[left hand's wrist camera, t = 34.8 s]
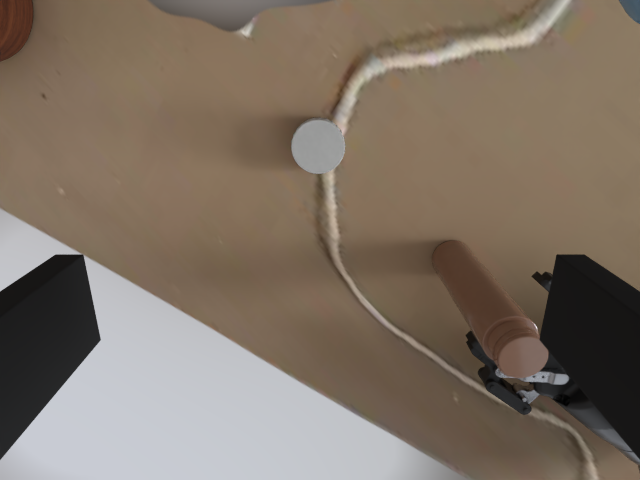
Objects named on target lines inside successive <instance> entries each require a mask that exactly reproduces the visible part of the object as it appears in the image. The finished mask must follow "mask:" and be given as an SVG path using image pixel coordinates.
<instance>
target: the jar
mask: <svg viewBox="0 0 640 480" xmlns="http://www.w3.org/2000/svg"><path fill="white" fill-rule="evenodd" d="M432 264H433V267H434V269H435V270H436V272H437V274H438V275H439V277H440V279H441V280H442V282H443V284H444V285H445V287H446V289H447V290H448V292H449V294H450V295H451V297H452V299H453V300H454V302H455V304H456V305H457V307H458V309H459V310H460V312H461V314H462V315H463V317H464V319H465V320H466V322H467V324H468V325H469V327H470V329H471V330H472V332H473V334H474V335H475V337H476V339H477V340H478V342H479V344H480V345H481V347H482V349H483V350H484V352H485V354H486V355H487V356H488V357H489V358H490V359H492V360H493V361H494V362H495V364H496V365H497V367H498V369H499V370H500V371H501V372H502V373H503V374H504V375H505V376H508V377H514V378H526V377H530V376H532V375H534V374H536V373H538V372H539V371H540V370H541V369H542V368H543V367H544V366H545V364H546V362H547V360H548V350H547V348H546V347H545V346H544V345H543V344H542V343H541V341H540V340H539V339H540V335H539V332H538V329H537V327H536V325H535V324H534V323H533V321H532V320H531V319H530V318H529V317H528V316H527V315H526V313H525V312H524V311H523V310H522V309H521V308H520V307H519V305H518V304H517V303H516V302H515V301H514V300H513V299H512V297H511V296H510V295H509V294H508V293H507V292H506V291H505V289H504V288H503V287H502V286H501V285H500V284H499V282H498V281H497V280H496V279H495V278H494V277H493V276H492V274H491V273H490V272H489V271H488V270H487V269H486V268H485V266H484V265H483V264H482V263H481V262H480V261H479V260H478V258H477V257H476V256H475V255H474V254H473V253H472V252H471V250H470V249H469V248H468V247H467V246H466V245H465V244H464V243H462V242H460V241H455V240H452V241H447V242H444V243H442V244H441V245H439V246H438V247H437V248H436V250H435V251H434V253H433V256H432Z"/></svg>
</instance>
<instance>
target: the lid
mask: <svg viewBox="0 0 640 480" xmlns="http://www.w3.org/2000/svg"><path fill="white" fill-rule="evenodd" d="M291 142H292V146H291V149H292V155H293V157H294V159H295V161H296V162H297V164H298V165H299V166H300V167H301V168H302V169H304V170H305V171H307V172H310V173H314V174H322V173H326V172H329V171H331V170H332V169H334V168H335V167H336V166H337V165H338V164H339V163H340V161H341V160H342V158H343V155H344V152H345V142H344V136H342V131H341V130H340V129H339V128H338V126H337V125H335V124H334V123H333V121H330V120H328V119H327V118H326V119H324V118H320V117H319V118H314V117H313V118H312V119H309V120H308V119H307V121H305V122H303V123H301V125H300V126H299V127H297V129H296V132H294V134H293V139H292V141H291Z"/></svg>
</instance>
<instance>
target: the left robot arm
mask: <svg viewBox="0 0 640 480" xmlns="http://www.w3.org/2000/svg"><path fill="white" fill-rule="evenodd" d="M619 1H620V3H621V5H622V6H623V8H624V10H625V11H626V13H627V14H628V15H629V16H630V17H631V18H632V19H633V20H634V21H635V22H637V23H639V24H640V0H619ZM100 340H101V339H100V334H99V329H98V325H97V320H96V315H95V310H94V305H93V300H92V295H91V290H90V285H89V281H88V275H87V271H86V266H85V261H84V256H83V255H54V256H53V257H51V258H50V259H48V260H47V261H45V262H44V263H42V264H41V265H39V266H38V267H36V268H35V269H33V270H32V271H30V272H29V273H27V274H26V275H24V276H23V277H21V278H20V279H18V280H17V281H15V282H14V283H12V284H11V285H9V286H8V287H6V288H5V289H3V290H2V291H1V292H0V459H1V458H2V457H3V456H4V455H5V453H6V452H7V451H8V450H9V449H10V447H11V446H12V445H13V444H14V443H15V442H16V440H17V439H18V438H19V437H20V436H21V434H22V433H23V432H24V431H25V430H26V428H27V427H28V426H29V425H30V424H31V422H32V421H33V420H34V419H35V418H36V416H37V415H38V414H39V413H40V412H41V410H42V409H43V408H44V407H45V406H46V405H47V403H48V402H49V401H50V400H51V399H52V397H53V396H54V395H55V394H56V393H57V391H58V390H59V389H60V388H61V387H62V385H63V384H64V383H65V382H66V381H67V379H68V378H69V377H70V376H71V375H72V373H73V372H74V371H75V370H76V369H77V367H78V366H79V365H80V364H81V363H82V362H83V360H84V359H85V358H86V357H87V356H88V354H89V353H90V352H91V351H92V350H93V348H94V347H95V346H96V345H97V344H98V343H99V341H100ZM539 340H540V341H541V343H542V344H543V345H544V346H545V347H546V348H547V350H548V351H549V352H550V353H551V354H552V356H553V357H554V358H555V359H556V360H557V362H558V363H559V364H560V365H561V366H562V368H563V369H564V370H565V371H566V372H567V374H568V375H569V376H570V377H571V378H572V380H573V381H574V382H575V383H576V384H577V385H578V387H579V388H580V389H581V390H582V391H583V393H584V394H585V395H586V396H587V397H588V399H589V400H590V401H591V402H592V403H593V405H594V406H595V407H596V408H597V409H598V411H599V412H600V413H601V414H602V415H603V417H604V418H605V419H606V420H607V421H608V422H609V424H610V425H611V426H612V427H613V428H614V430H615V431H616V432H617V433H618V434H619V436H620V437H621V438H622V439H623V440H624V442H625V443H626V444H627V445H628V446H629V448H630V449H631V450H632V451H633V452H634V453H635V455H636V456H637V457H638V458H639V459H640V291H638V290H637V289H635V288H634V287H632V286H631V285H629V284H628V283H626V282H625V281H623V280H622V279H620V278H619V277H617V276H616V275H614V274H613V273H611V272H610V271H608V270H607V269H605V268H604V267H602V266H601V265H599V264H598V263H596V262H595V261H593V260H592V259H590V258H589V257H587V256H586V255H557V256H556V261H555V266H554V271H553V275H552V280H551V285H550V290H549V295H548V300H547V305H546V310H545V315H544V320H543V325H542V329H541V334H540V339H539Z"/></svg>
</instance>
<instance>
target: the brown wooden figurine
mask: <svg viewBox="0 0 640 480" xmlns="http://www.w3.org/2000/svg"><path fill="white" fill-rule="evenodd" d="M32 22H33V5H32V0H0V61H3V60H5V59H8V58H10V57H11V56H13V55H14V54H16V53H17V52H18V51H19V50H20V49H21V48H22V47H23V45H24V44H25V42H26V41H27V39H28V37H29V34H30V31H31V27H32Z"/></svg>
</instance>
